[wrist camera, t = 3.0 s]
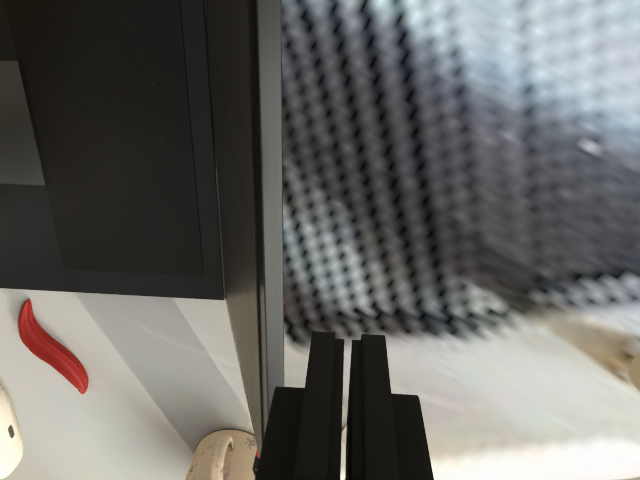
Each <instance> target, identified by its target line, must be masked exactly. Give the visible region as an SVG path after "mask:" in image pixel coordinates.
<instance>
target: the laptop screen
mask: <svg viewBox="0 0 640 480" xmlns="http://www.w3.org/2000/svg"><path fill="white" fill-rule="evenodd" d="M205 1H206V16H207V31H208V46H209V61H210V76H211V91H212V106H213V121H214V136H215V151H216V166H217V181H218V196H219V211H220V226H221V241H222V256H223V271H224V286H225V301H226V305H227V310H228V315H229V319H230V324H231V328H232V333H233V338H234V342H235V347H236V352H237V356H238V361H239V366H240V370H241V375H242V380H243V384H244V389H245V394H246V398H247V403H248V408H249V412H250V417H251V422H252V426H253V431H254V436H255V440H256V445H257V450H258V454H259V458H260V454H261V449H262V444H263V440H264V435H265V431H266V426H267V421H268V417H269V412H270V407H271V403H272V398H273V394H274V390H275V387H276V386H278V387H284V293H283V168H282V43H281V0H205Z"/></svg>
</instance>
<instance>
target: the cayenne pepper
mask: <svg viewBox="0 0 640 480" xmlns="http://www.w3.org/2000/svg"><path fill="white" fill-rule="evenodd" d="M18 328H19V334H20V337H21V340H22V342H23V343H24V344H25V346H27V347H28V348H29V350H30V351H31V352H32V353H33V354H34V355H36V356H37V357H39V358H40V359H41V360H43V361H45V362H46V363H48V364H49V365H51V366H52V367H53V368H55V369H56V370H57V371H58V372H59V373H60V374H62V375H63V376H64V377H65V378H66V379H67V380H68V381H69V382H70V383H71V384H73V385H74V386H75V387H76V388H77V389H78V390H79V392H80V393H81V394H84V393H85V392H86V390H87V387H88V376H87V373H86V371H85V369H84V367H83V366H82V364H81V363H80V362H79V361H78V359H77V358H76V357H75V356H74V355H73V354H72V353H71V352H70V351H68V350H67V349H66V348H65V347H63V346H62V345H61V344H59V343H58V342H57V341H55V340H54V339H53V338H52V337H51V336H49V335H48V334H47V333H46V332H45V331H44V330H43V329H42V328H41V327H40V326H39V324H38V323H37V321H36V320H35V318H34V315H33V312H32V306H31V301H30V299H29V300H27V301H26V302H25V303H24V304H23V306H22V308H21V311H20V315H19V319H18Z"/></svg>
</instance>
